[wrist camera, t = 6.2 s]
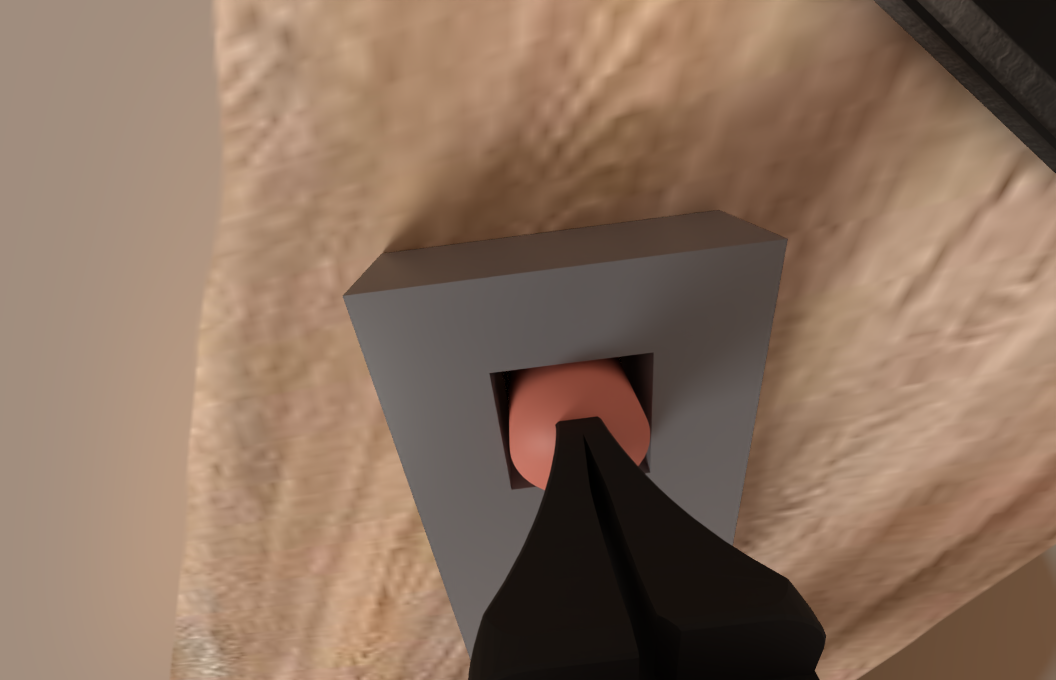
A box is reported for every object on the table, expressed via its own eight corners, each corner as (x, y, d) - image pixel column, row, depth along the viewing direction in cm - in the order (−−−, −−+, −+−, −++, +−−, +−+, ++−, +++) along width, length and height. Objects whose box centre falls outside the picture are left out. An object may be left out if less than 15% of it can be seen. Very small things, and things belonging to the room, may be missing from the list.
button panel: (682, 585, 25) (711, 661, 21) (484, 608, 25) (480, 689, 22) (719, 210, 15) (787, 238, 11) (381, 253, 15) (342, 296, 11)
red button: (622, 420, 17) (648, 486, 14) (516, 433, 17) (519, 502, 14) (621, 324, 15) (652, 377, 12) (500, 339, 15) (499, 396, 12)
